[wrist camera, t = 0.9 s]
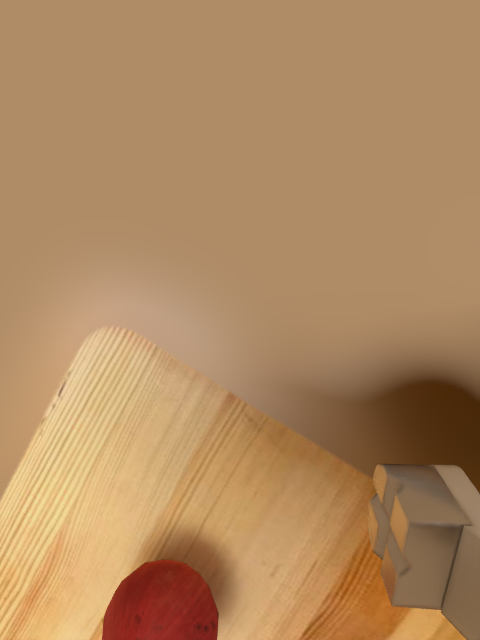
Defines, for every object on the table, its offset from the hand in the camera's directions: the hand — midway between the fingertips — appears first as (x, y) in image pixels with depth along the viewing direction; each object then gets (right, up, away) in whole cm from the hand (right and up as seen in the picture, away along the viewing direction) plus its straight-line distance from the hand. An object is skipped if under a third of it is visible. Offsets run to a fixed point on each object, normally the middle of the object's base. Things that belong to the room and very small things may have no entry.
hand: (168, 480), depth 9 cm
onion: (-2, -13, +18) cm, 22 cm away
